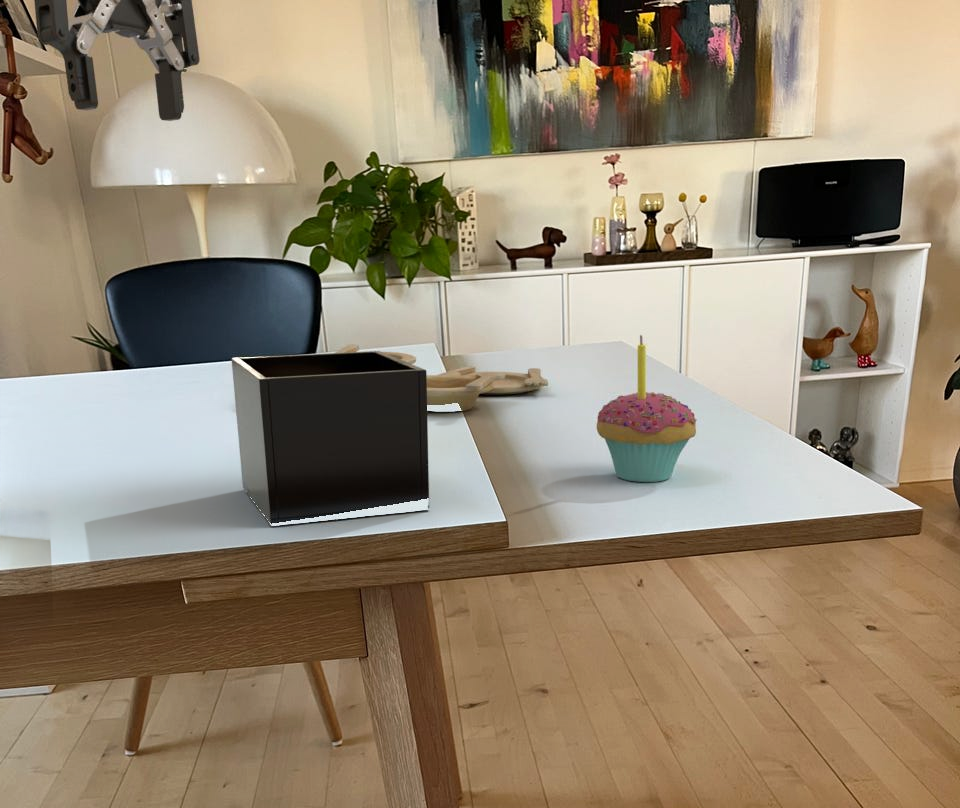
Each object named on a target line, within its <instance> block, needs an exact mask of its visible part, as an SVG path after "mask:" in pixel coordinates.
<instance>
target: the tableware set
mask: <svg viewBox="0 0 960 808" xmlns="http://www.w3.org/2000/svg"><path fill="white" fill-rule="evenodd" d="M359 351H360V345H359V344H355V343H354V344H351V343H350V344H346V345H345V346H344V347H342V348H341V349H338V350H337V351H335V352H334V353H346V352H359ZM382 352H383V353H385V354H388V355H390V356H393V357H395V358H398V359H400V360H403V361H405V362H407V363H410V364H412V365H414V364H415V363H416V361H417V357H416V356H414V355H412V354H409V353H404V352H395V351H382ZM541 372H542V370H541V368H538V367H530V368H527V373H525V372H524V373H523V372H515V371H514V372H513V371H476V366H474V365H473V366H472V365H469V366H463V367H459V368H456V369H452V370H449V371H445V372H442V373H439V374H429V375H428V374H427V405H445V404H452V403H458V404H459V406H460V408H461V410H462V412H461V413H463V412H466V411H469V410H472V408H473V407H474V405H475V403H476V401H477V400H478V398H479V395H485V396H486V395H487V396H488V395H496V396H497V395H498V396H499V395H518V394H525V393H528V392H529V393H530V392H531V391H534V390H538V389H541V388H543V387H548V385H549V381H548V379H547V378H544V377H542V375H541V374H542V373H541Z"/></svg>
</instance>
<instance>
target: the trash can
mask: <svg viewBox="0 0 960 808" xmlns="http://www.w3.org/2000/svg"><path fill="white" fill-rule="evenodd" d="M383 352H384V351H381V350H371V351H369V350H368V351H357V352H346V353H335V352H328V353H327V352H326V353H308V354H306V353H305V354H285V355H267V356H247V357H232V358H231V359H230V360H231V370H232V380H233V392H234V402H235V403H234V404H235V414H236V415H235V416H236V424H237V436H238V448H239V458H240V459H239V460H240V470H241V471H240V472H241V480H242V481H241V482H242V489H243V488H244V489H245V490H246V491H247V493H248V494H249V496H250V497H251V498H252V500H253V501H254V502H255V504H256V505H257V506H258V508H259V509H260V510H261V512H262V513H263V514H264V515H265V517H266V518H267V519H268V521H269V522H270V523H271V524H272V523H279V522H286V521H291V520H300V519H305V518H314V517H319V516H326V515H333V514H339V513H344V512H350V511H356V510H362V509H368V508H374V507H379V506H387V505H393V504H399V503H404V502H410V501H418V500H421V499H427V498H429V499H430V480H429V479H430V478H429V475H430V474H429V471H430V470H429V432H428V431H429V428H428V427H429V425H428V412H427V375H428V374H427V370H426V369H424V368H422V367H420V366H417V365H415V364H410V363H407V362H405V361H403V360H400V359H398V358H395V357H393V356H390V355H388V354H385V353H383ZM244 489H243V490H244ZM247 493H246V494H247ZM249 496H248V497H249ZM250 497H249V498H250ZM252 500H251V501H252ZM255 504H254V505H255ZM258 508H257V509H258ZM261 512H260V513H261Z"/></svg>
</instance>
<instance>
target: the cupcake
mask: <svg viewBox="0 0 960 808" xmlns="http://www.w3.org/2000/svg"><path fill="white" fill-rule="evenodd" d="M643 338H644V337H643V335H642V334H640V335H639V344H637V392H635V393H630V394H626V395H619V396H617V397H616V398H615V399H612V400H610V401H608V402H607V403H606V404H604V405H602V408H601V410H599V412H598V415H597V417H596V419H597V422H596V431H597V433H598V435H599V436H600V437H601V438H602V439H604V440H605V443H606V446H607V448H608V450H609V451H608V452H609V453H610V457H611V461H612V464H613V468H614V473H615V475H616V477H617V478H619V479H621V480H625V481H629V482H638V483H658V482H663V481H667V480H669V479H671V477H672V475H673V472H674V470H675V466H676V464H677V461H678V459H679V457H680V455H681V453H682V451H683V450H684V448H685V447H686V445H687V443H688V442H689V441H690V439H692V438H694V437H695V436H696V435H697V427H696V423H697V421H698V420H697V419H696V417H695V413H694V412H692V409H691V408H689V406H688V405H687V404H684V403H681V401H680V400H677V399H676V398H674V397H673V396H672V395H666V394H665V393H660V392H658V393H655V392H654V391H652V392H647V391H646V390H647V389H646V387H647V386H646V380H647V379H646V376H647V375H646V371H647V368H646V366H647V364H646V363H647V358H646V357H647V356H646V354H647V352H646V351H647V348H646V344H645V343H643V341H644V340H643Z"/></svg>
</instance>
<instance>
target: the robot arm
mask: <svg viewBox="0 0 960 808" xmlns="http://www.w3.org/2000/svg"><path fill="white" fill-rule="evenodd" d="M34 11H35V23H36V34H37V38H38V41H39V42H40V43H41V44H42V45H44V46H50V47H51V48H54V49H55V50H57V51H58V52H59V53H60V55H61V56H62V59H63V61H64V68H65V77H66V83H67V91H68V95H69V97H70V100H71V101H72V102H74V107H75V108H76V110H79V111H90V110H96V109H97V108H98V106H99V100H98V99H99V98H98V91H97V83H96V73H95V67H94V66H95V65H94V59H93V58H94V57H93V56H88V54H90V51H91V50H92V47H93V45H94V44H95V41H96V40H97V37H98V36H99V35H100V34H101V33H102V34H109V33H110V34H111V33H115V34H116V35H118V36H120V37H123V38H128V39H130V38H133V40H134V41H135V43H136V45H137V46H138V48H139V49H140V50H142V51H144V52H145V53H146V54H147V56H148V58H149V60H150V61H151V63H152V64H153V66H154V67H155V69H156V72H157V73H156V72H155V73H154V81H155V89H156V90H155V91H156V99H157V109H158V116H159V119H160V120H161V121H166V122H173V121H179V120H180V119H181V118H182V114H183V113H184V109H185V102H184V101H185V100H184V92H183V82H182V72H183V71H184V70H185V69H187V68H190V67H194V66H197V65H199V63H200V59H201V58H200V52H199V45H198V37H197V36H198V35H197V29H196V21H195V15H194V8H193V0H77V3H76V5H74V8H73V11H72V12H71V14H70V16H69V15H68V3H67V0H34ZM68 17H69V18H68ZM150 29H152V30H153V31H152V32H150V31H149V30H150Z"/></svg>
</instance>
